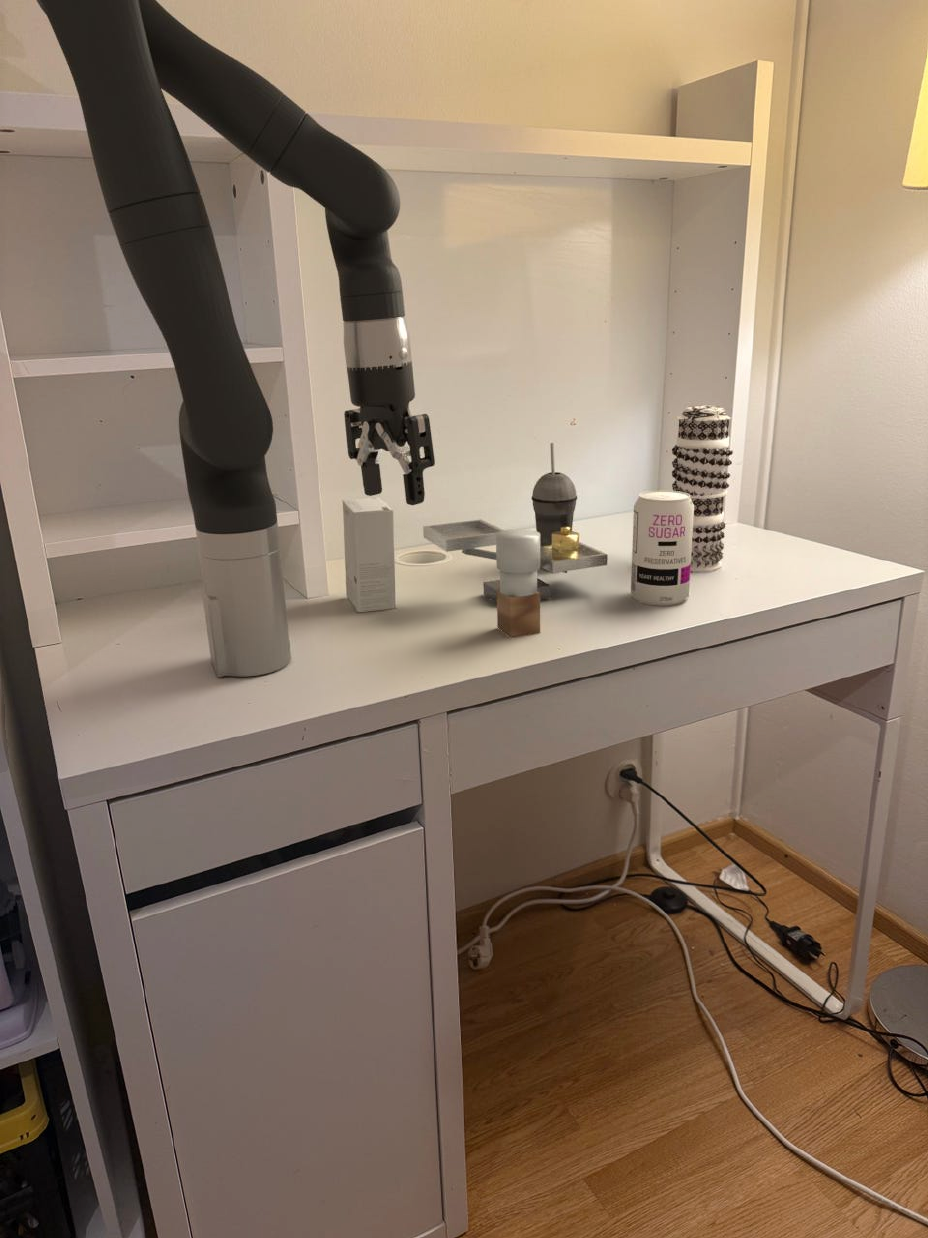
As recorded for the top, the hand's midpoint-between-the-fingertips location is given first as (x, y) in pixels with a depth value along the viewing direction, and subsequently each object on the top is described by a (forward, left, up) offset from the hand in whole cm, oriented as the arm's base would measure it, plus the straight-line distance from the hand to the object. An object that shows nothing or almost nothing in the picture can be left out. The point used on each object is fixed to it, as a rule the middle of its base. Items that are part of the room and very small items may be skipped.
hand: (394, 498), depth 107 cm
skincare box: (+1, +17, -19) cm, 25 cm away
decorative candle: (+54, +12, -19) cm, 59 cm away
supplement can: (+39, 0, -19) cm, 43 cm away
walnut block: (+15, -3, -19) cm, 24 cm away
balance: (+21, +10, -19) cm, 30 cm away
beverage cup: (+33, +21, -19) cm, 44 cm away
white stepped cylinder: (+15, -3, -13) cm, 20 cm away
